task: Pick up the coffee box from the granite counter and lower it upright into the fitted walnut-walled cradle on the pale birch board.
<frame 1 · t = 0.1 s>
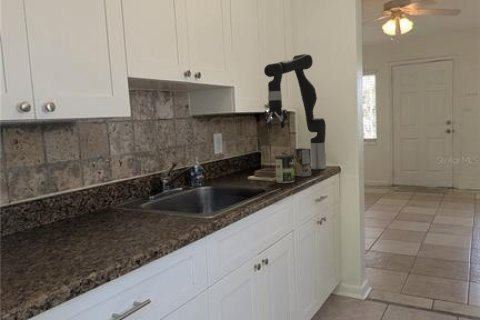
hand: (276, 128, 218), 29 cm above the counter, fingers open, 8 cm apart
coffee can: (285, 181, 212), on the counter
coffee box: (303, 175, 230), on the counter
cradle board: (270, 177, 229), on the counter
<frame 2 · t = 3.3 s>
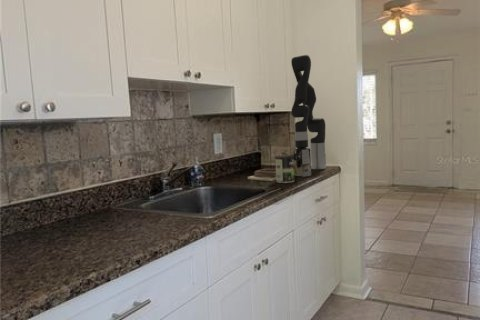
hand: (302, 166, 229), 5 cm above the counter, fingers closed on coffee box, 8 cm apart
coffee box: (302, 175, 229), on the counter, touching gripper
everything else where it was.
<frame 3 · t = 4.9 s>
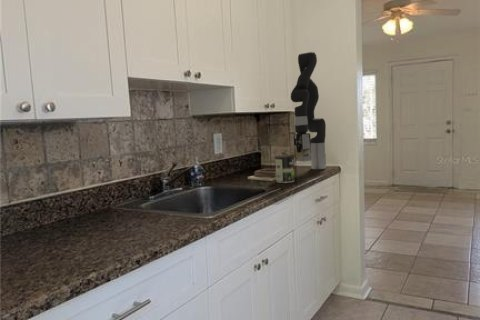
hand: (302, 151, 228), 14 cm above the counter, fingers closed on coffee box, 7 cm apart
coffee box: (303, 160, 229), point 9 cm above the counter, touching gripper
everything else where it was.
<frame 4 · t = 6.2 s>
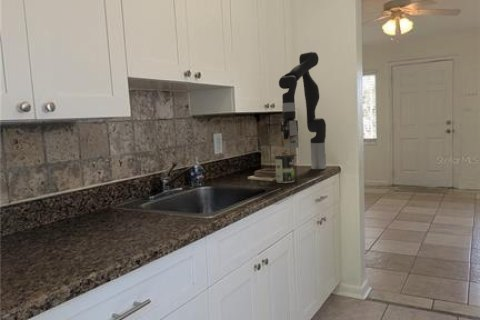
hand: (289, 138, 226), 22 cm above the counter, fingers closed on coffee box, 7 cm apart
coffee box: (290, 148, 227), point 17 cm above the counter, touching gripper
everything else where it was.
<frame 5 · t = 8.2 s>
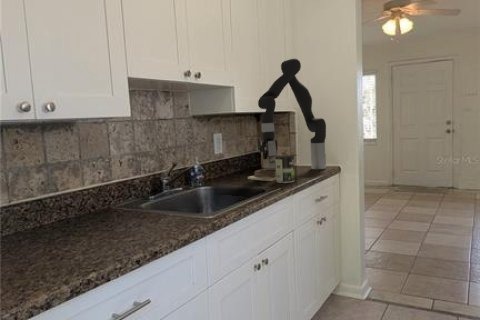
hand: (269, 158, 227), 11 cm above the counter, fingers closed on coffee box, 7 cm apart
coffee box: (269, 167, 228), point 6 cm above the counter, touching gripper
everything else where it was.
when the fingers open (8 cm above the counter, at t = 9.5 s): coffee box drops 1 cm, resting on cradle board.
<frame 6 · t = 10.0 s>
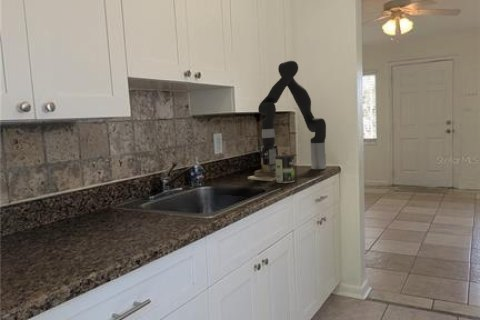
hand: (269, 164, 228), 8 cm above the counter, fingers open, 8 cm apart
coffee box: (270, 175, 228), point 1 cm above the counter, touching cradle board
everything else where it was.
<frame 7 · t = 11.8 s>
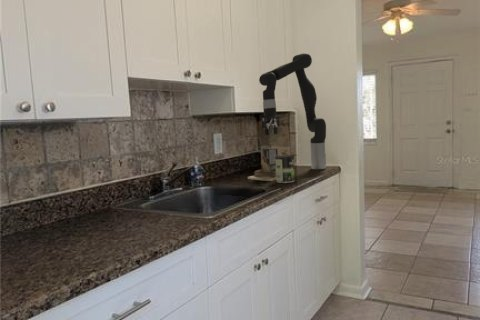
hand: (271, 134, 230), 25 cm above the counter, fingers open, 8 cm apart
nothing on the counter moved.
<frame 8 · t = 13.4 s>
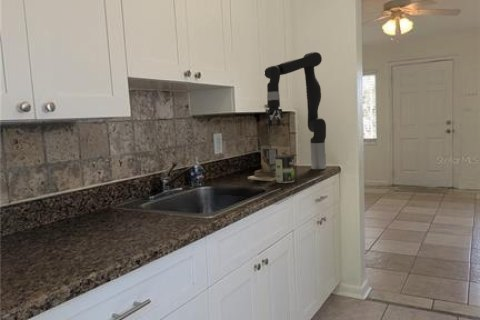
hand: (274, 126, 237), 30 cm above the counter, fingers open, 8 cm apart
nothing on the counter moved.
at the end: coffee box 0.1 cm off-centre on the cradle board, point 1.0 cm above the cradle board's base; coffee box tilted 0°; the gripper is holding nothing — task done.
